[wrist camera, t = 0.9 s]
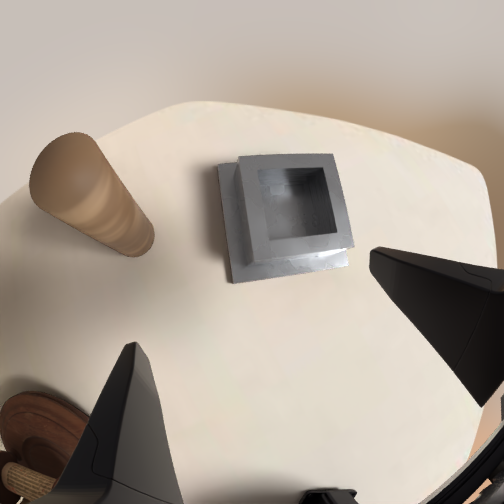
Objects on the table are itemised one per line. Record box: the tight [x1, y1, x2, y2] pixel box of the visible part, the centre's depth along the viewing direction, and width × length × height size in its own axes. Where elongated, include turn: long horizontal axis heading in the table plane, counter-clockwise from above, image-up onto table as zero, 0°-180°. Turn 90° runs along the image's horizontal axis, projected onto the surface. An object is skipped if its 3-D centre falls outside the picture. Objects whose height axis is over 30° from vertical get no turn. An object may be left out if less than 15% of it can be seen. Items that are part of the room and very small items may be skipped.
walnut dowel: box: [29, 132, 154, 257], centre depth 15 cm, size 4×4×13 cm
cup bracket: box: [217, 154, 354, 284], centre depth 22 cm, size 10×10×4 cm
